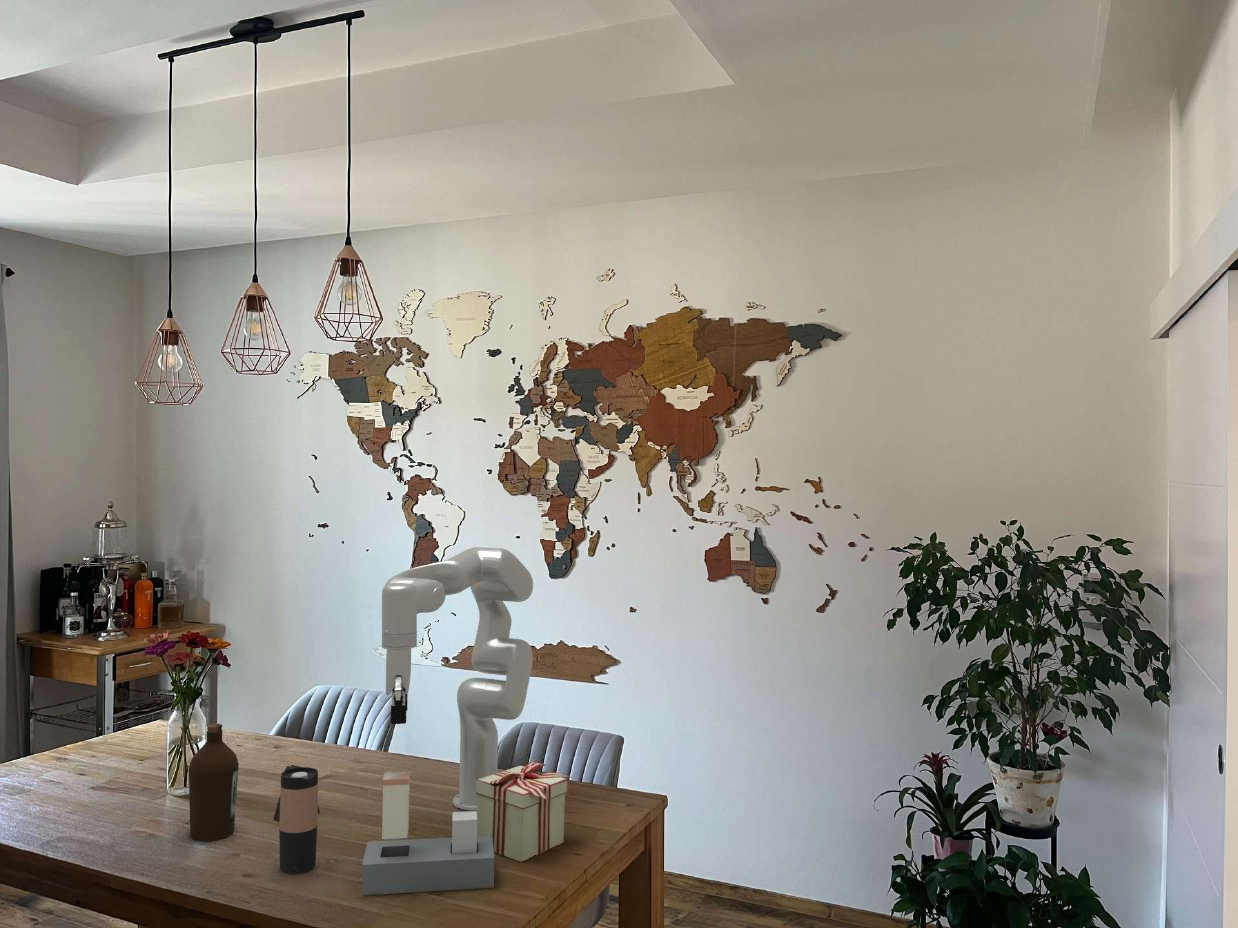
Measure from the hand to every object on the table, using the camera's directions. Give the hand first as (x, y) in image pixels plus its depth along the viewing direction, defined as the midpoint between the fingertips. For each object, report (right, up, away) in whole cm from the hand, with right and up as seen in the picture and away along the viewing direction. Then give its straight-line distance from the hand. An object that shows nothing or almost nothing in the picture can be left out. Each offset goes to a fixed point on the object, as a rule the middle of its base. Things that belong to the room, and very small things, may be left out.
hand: (399, 717), depth 207 cm
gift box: (+28, -31, +6) cm, 42 cm away
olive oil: (-45, -30, +9) cm, 55 cm away
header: (+9, -30, -13) cm, 34 cm away
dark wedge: (-30, -30, +21) cm, 48 cm away
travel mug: (-20, -30, -8) cm, 37 cm away
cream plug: (+2, -21, -14) cm, 25 cm away
